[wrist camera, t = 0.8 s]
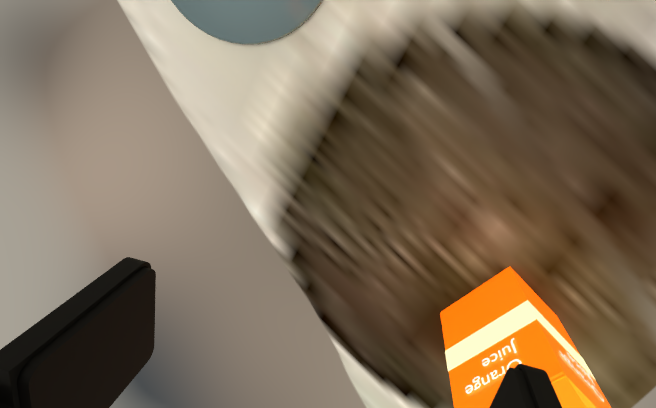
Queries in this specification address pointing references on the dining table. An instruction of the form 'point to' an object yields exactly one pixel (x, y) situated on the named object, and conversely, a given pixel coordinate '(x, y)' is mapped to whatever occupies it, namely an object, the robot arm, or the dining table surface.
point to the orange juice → (511, 345)
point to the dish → (247, 18)
